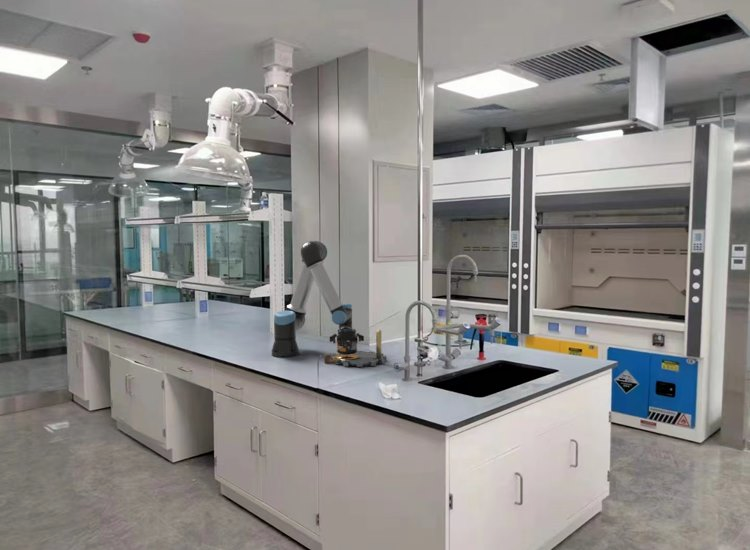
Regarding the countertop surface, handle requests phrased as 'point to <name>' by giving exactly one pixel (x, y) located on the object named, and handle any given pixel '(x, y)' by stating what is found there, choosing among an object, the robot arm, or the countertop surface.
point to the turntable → (363, 356)
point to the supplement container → (347, 341)
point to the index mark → (327, 358)
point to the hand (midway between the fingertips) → (347, 341)
